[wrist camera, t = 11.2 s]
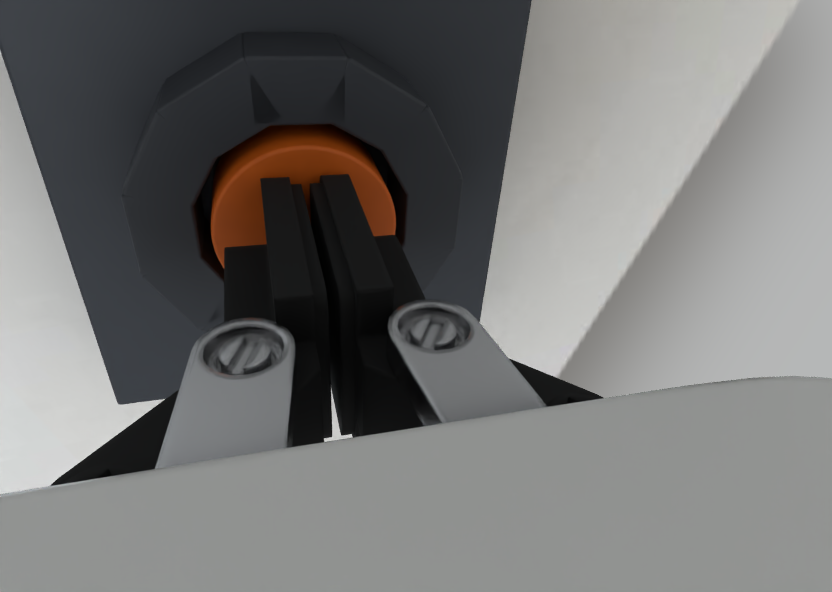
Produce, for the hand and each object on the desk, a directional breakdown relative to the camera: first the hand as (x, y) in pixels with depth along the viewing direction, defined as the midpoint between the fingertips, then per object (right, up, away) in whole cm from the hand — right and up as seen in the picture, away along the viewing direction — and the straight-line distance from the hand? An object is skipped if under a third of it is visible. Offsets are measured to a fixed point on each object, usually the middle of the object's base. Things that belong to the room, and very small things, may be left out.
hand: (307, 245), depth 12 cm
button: (0, +1, +1) cm, 2 cm away
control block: (-1, +3, +3) cm, 4 cm away
